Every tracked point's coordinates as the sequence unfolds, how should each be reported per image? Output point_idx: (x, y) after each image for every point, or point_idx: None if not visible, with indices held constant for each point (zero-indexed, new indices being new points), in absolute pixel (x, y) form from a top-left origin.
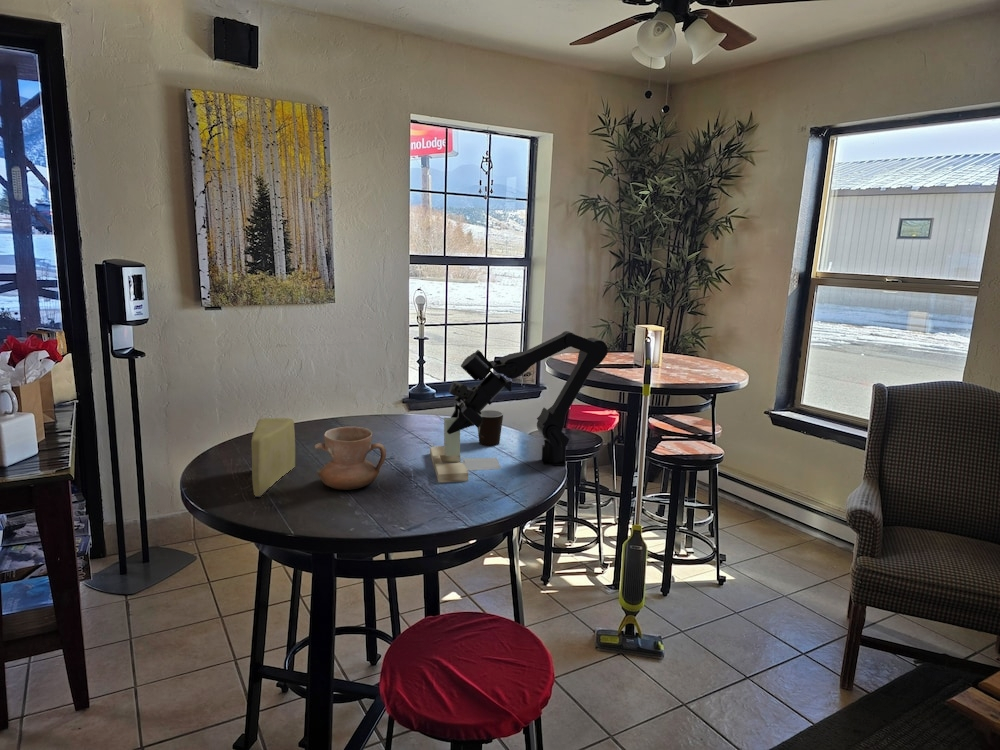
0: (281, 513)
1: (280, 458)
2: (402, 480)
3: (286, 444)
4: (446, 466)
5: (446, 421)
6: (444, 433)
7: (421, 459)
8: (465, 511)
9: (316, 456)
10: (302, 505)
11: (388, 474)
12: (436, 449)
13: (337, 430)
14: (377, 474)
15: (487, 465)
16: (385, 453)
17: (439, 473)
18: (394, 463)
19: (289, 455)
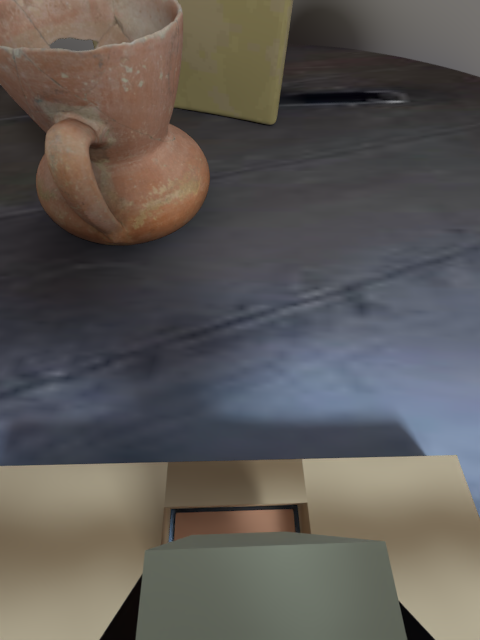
0: (10, 119)
1: (183, 49)
2: (117, 331)
3: (218, 24)
4: (105, 529)
5: (147, 566)
6: (292, 535)
7: (357, 415)
8: None
9: (359, 153)
10: (34, 140)
11: (191, 292)
12: (415, 490)
13: (167, 9)
14: (106, 241)
15: None
16: (68, 194)
17: (7, 473)
18: (304, 313)
19: (239, 72)
